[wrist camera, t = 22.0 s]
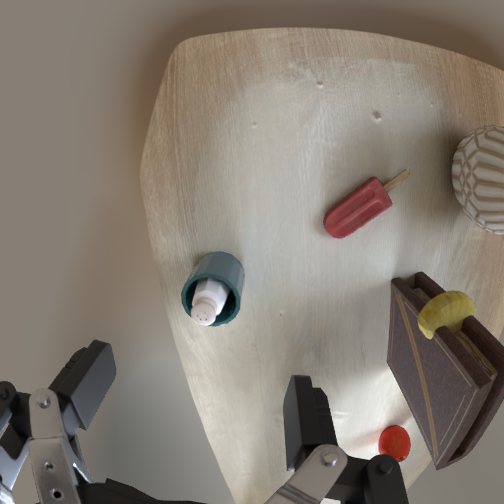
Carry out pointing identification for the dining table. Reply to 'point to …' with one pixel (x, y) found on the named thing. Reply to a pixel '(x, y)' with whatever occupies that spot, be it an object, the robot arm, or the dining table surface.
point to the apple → (395, 443)
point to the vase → (481, 177)
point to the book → (444, 366)
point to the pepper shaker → (209, 300)
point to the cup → (224, 270)
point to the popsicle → (360, 206)
